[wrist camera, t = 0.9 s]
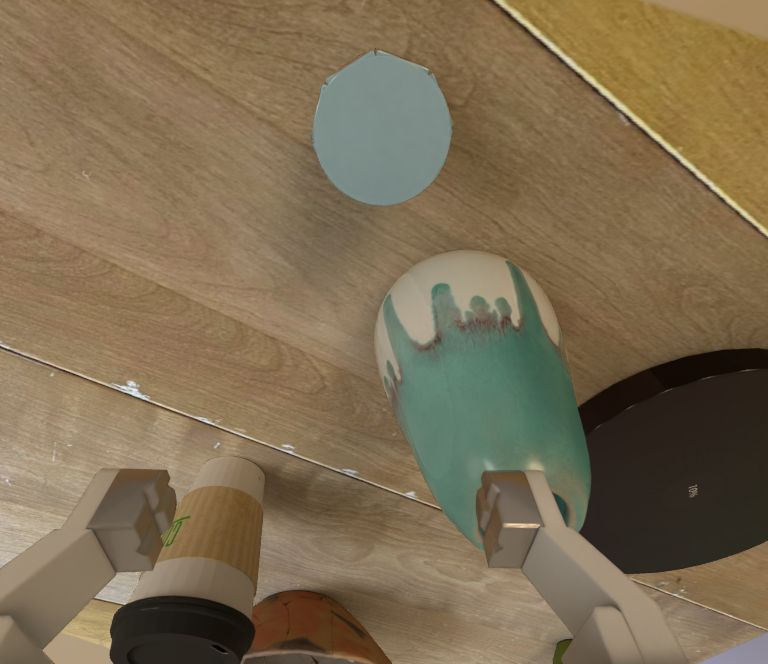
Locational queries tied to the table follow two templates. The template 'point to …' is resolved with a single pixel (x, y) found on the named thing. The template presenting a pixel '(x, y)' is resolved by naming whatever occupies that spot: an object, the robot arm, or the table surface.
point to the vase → (481, 382)
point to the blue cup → (381, 128)
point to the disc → (680, 462)
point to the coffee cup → (199, 575)
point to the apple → (560, 651)
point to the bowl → (309, 633)
